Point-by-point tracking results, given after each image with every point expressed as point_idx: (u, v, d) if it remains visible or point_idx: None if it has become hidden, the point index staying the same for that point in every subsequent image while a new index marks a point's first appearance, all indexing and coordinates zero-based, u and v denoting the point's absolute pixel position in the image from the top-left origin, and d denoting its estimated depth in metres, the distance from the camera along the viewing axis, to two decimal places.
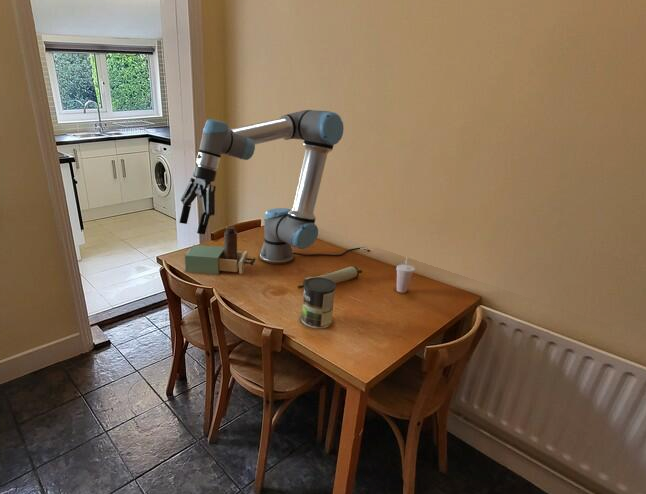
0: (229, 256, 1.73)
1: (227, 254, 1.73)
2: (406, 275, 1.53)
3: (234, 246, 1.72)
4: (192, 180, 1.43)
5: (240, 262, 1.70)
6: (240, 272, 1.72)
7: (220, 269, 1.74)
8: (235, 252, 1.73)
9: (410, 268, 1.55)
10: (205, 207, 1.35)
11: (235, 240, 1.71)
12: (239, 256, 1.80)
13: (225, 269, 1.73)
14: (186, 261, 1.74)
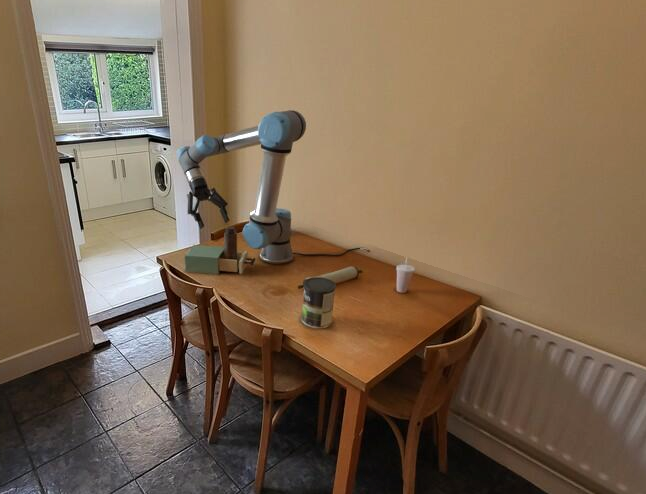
0: (229, 256, 1.73)
1: (227, 254, 1.73)
2: (406, 275, 1.53)
3: (234, 246, 1.72)
4: None
5: (240, 262, 1.70)
6: (240, 272, 1.72)
7: (220, 269, 1.74)
8: (235, 252, 1.73)
9: (410, 268, 1.55)
10: (193, 209, 1.75)
11: (235, 240, 1.71)
12: (239, 256, 1.80)
13: (225, 269, 1.73)
14: (186, 261, 1.74)
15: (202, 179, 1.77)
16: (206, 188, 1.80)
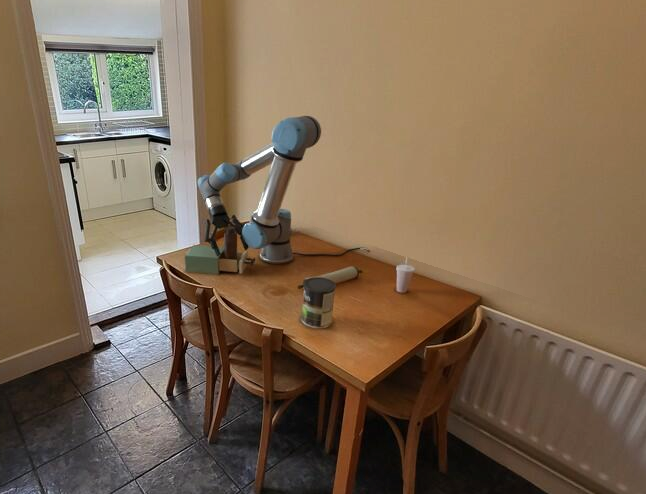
0: (229, 256, 1.73)
1: (227, 254, 1.73)
2: (406, 275, 1.53)
3: (234, 246, 1.72)
4: None
5: (240, 262, 1.70)
6: (240, 272, 1.72)
7: (220, 269, 1.74)
8: (235, 252, 1.73)
9: (410, 268, 1.55)
10: (210, 237, 1.73)
11: (235, 240, 1.71)
12: (239, 256, 1.80)
13: (225, 269, 1.73)
14: (186, 261, 1.74)
15: (220, 206, 1.75)
16: (225, 215, 1.77)
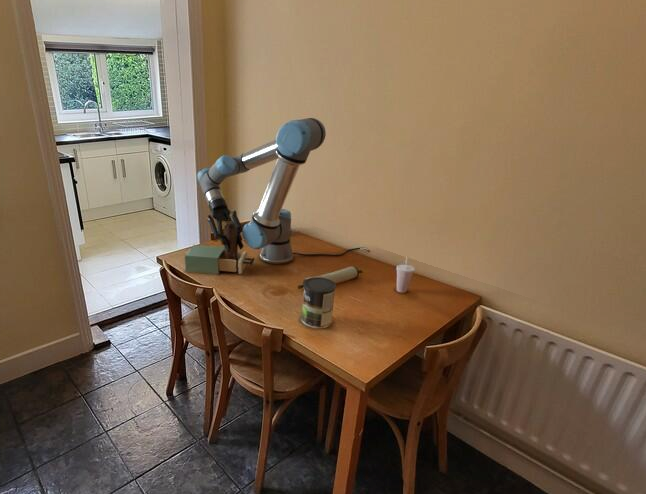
0: (230, 251, 1.72)
1: None
2: (406, 275, 1.53)
3: (234, 241, 1.70)
4: None
5: (239, 262, 1.70)
6: (239, 272, 1.72)
7: (219, 269, 1.74)
8: (236, 247, 1.72)
9: (410, 268, 1.55)
10: (218, 232, 1.72)
11: (235, 235, 1.70)
12: (238, 256, 1.80)
13: (224, 269, 1.73)
14: (186, 261, 1.74)
15: (221, 200, 1.74)
16: (226, 209, 1.76)
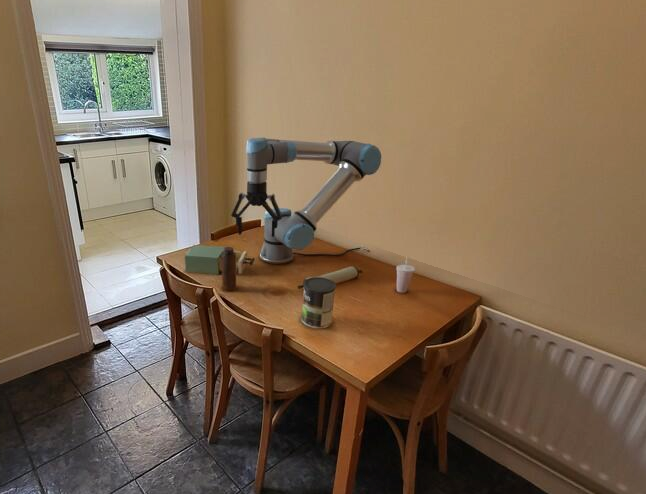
0: (227, 280, 1.57)
1: (225, 277, 1.57)
2: (406, 275, 1.53)
3: (233, 269, 1.56)
4: None
5: (239, 262, 1.70)
6: (239, 272, 1.72)
7: (219, 269, 1.74)
8: (234, 275, 1.58)
9: (410, 268, 1.55)
10: None
11: (234, 262, 1.55)
12: (238, 256, 1.80)
13: None
14: (186, 261, 1.74)
15: (256, 187, 1.52)
16: (262, 194, 1.55)
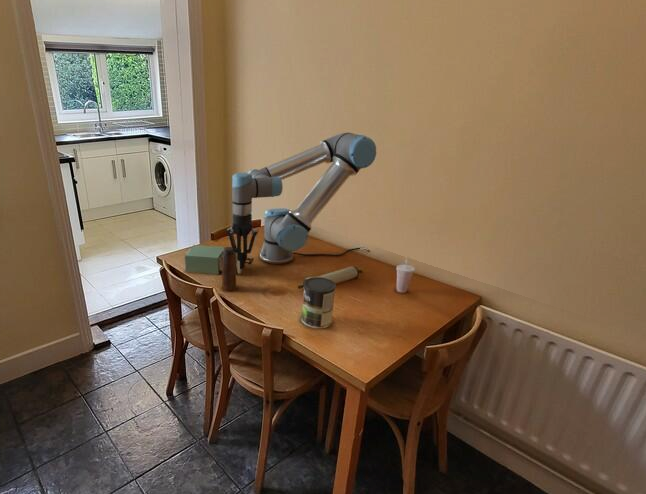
0: (227, 280, 1.57)
1: (225, 277, 1.57)
2: (406, 275, 1.53)
3: (233, 269, 1.56)
4: None
5: (238, 262, 1.70)
6: (238, 272, 1.72)
7: None
8: (234, 275, 1.58)
9: (410, 268, 1.55)
10: None
11: (234, 262, 1.55)
12: None
13: None
14: (186, 261, 1.74)
15: (241, 219, 1.58)
16: (248, 225, 1.62)
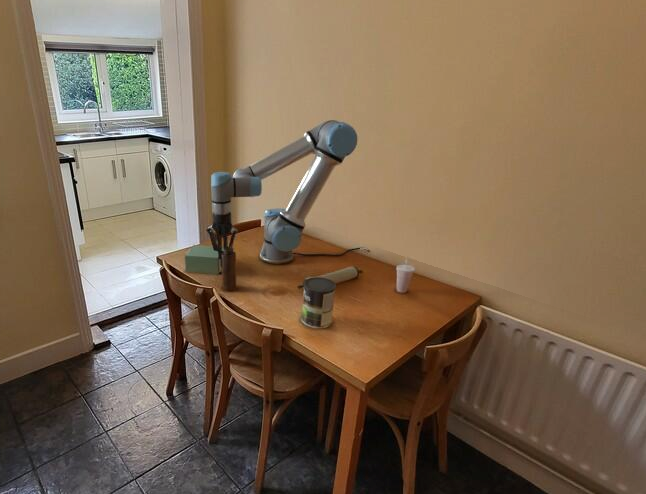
0: (227, 280, 1.57)
1: (225, 277, 1.57)
2: (406, 275, 1.53)
3: (233, 269, 1.56)
4: None
5: (219, 260, 1.72)
6: (219, 270, 1.73)
7: None
8: (234, 275, 1.58)
9: (410, 268, 1.55)
10: None
11: (234, 262, 1.55)
12: None
13: None
14: (186, 261, 1.74)
15: (220, 218, 1.60)
16: (227, 224, 1.63)
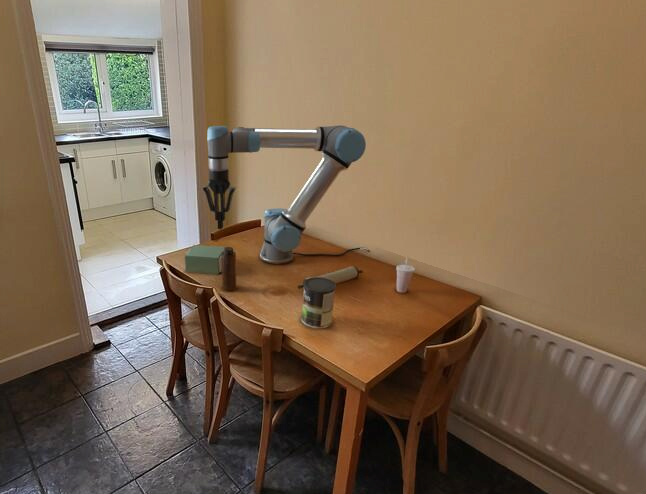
0: (227, 280, 1.57)
1: (225, 277, 1.57)
2: (406, 275, 1.53)
3: (233, 269, 1.56)
4: None
5: (219, 260, 1.72)
6: (219, 270, 1.73)
7: None
8: (234, 275, 1.58)
9: (410, 268, 1.55)
10: None
11: (234, 262, 1.55)
12: None
13: None
14: (186, 261, 1.74)
15: (217, 174, 1.53)
16: (224, 182, 1.56)
